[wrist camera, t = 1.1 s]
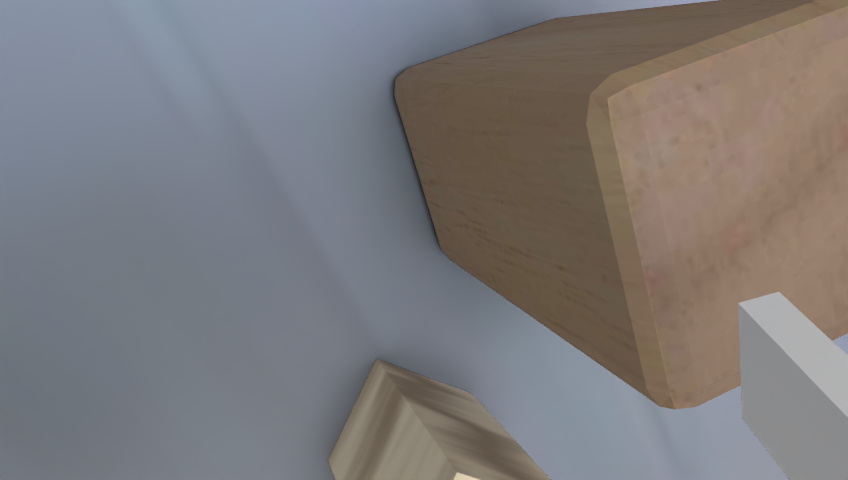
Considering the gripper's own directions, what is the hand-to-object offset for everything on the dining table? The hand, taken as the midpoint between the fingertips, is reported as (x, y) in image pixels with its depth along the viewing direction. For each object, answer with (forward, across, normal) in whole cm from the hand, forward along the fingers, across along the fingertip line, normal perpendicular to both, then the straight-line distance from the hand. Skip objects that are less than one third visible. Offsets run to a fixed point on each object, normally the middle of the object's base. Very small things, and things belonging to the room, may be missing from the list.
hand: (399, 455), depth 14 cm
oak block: (+22, -2, -18) cm, 28 cm away
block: (+26, +7, -6) cm, 28 cm away
